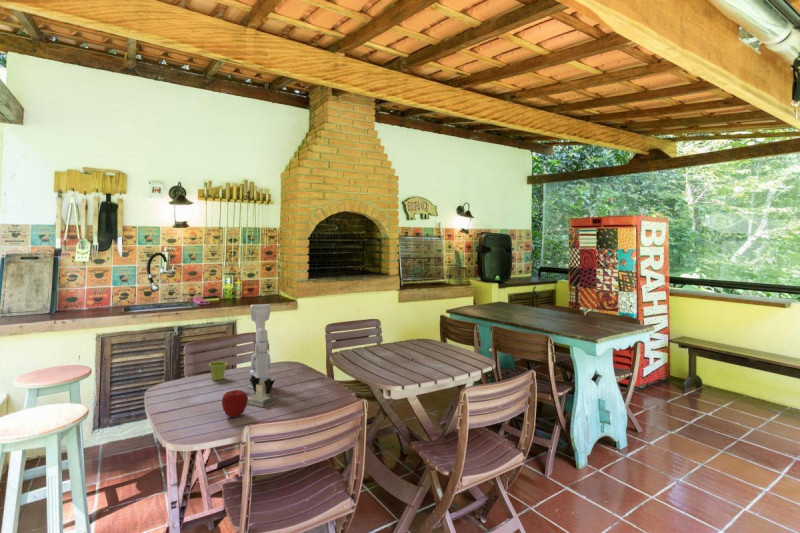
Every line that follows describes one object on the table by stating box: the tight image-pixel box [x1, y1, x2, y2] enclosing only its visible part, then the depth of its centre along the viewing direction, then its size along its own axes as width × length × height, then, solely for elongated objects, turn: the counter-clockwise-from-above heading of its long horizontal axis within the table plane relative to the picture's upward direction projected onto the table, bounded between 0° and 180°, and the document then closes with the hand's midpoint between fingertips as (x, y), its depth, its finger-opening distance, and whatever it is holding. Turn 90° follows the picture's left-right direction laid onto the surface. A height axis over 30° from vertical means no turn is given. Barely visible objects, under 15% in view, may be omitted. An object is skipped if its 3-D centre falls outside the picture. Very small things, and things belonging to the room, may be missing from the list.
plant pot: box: [208, 361, 228, 381], centre depth 235 cm, size 9×9×9 cm
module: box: [255, 382, 269, 396], centre depth 210 cm, size 4×4×6 cm
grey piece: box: [247, 392, 277, 409], centre depth 201 cm, size 15×8×3 cm, turn 66°
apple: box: [221, 389, 249, 418], centre depth 184 cm, size 11×11×12 cm
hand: (262, 392), depth 210 cm, fingers open, 7 cm apart
